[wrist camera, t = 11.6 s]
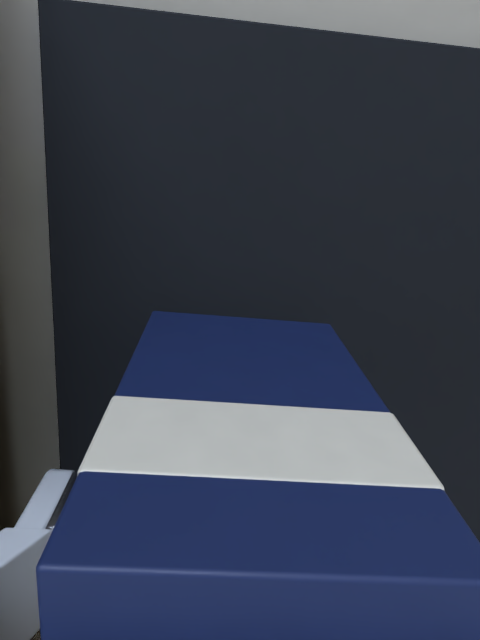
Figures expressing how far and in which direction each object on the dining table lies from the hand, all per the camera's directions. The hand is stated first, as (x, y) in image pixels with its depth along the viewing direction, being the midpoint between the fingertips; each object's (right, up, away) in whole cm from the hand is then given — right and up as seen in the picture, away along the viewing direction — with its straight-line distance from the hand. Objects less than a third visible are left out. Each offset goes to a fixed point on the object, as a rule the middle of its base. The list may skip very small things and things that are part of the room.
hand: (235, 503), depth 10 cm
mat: (+2, +2, +5) cm, 6 cm away
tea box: (0, +1, +3) cm, 4 cm away
